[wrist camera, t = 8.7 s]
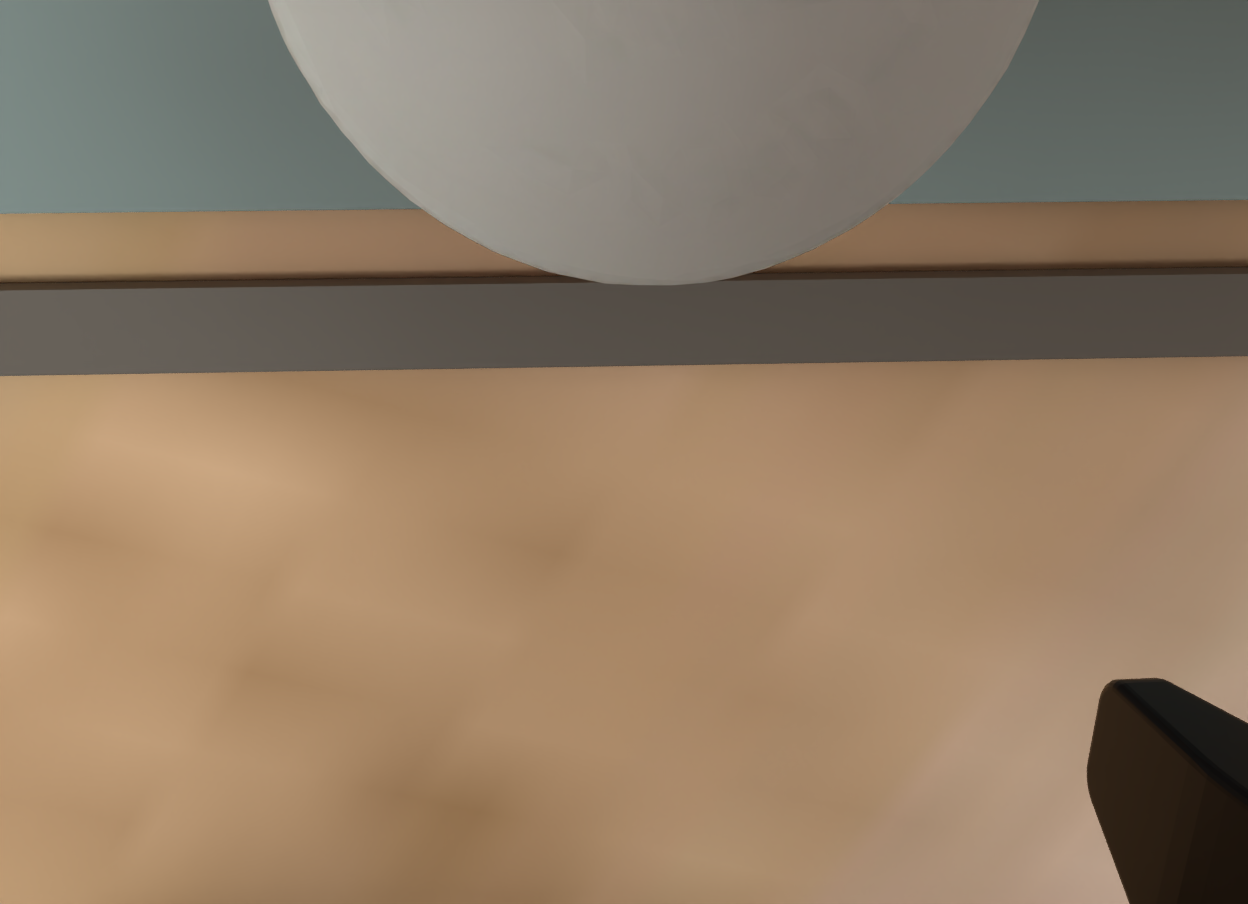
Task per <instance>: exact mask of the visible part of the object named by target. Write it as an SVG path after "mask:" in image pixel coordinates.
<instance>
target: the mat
mask: <svg viewBox="0 0 1248 904" xmlns="http://www.w3.org/2000/svg"><path fill="white" fill-rule="evenodd" d="M1183 200H1248V0H1039V2H1038V4H1037V7H1036V9H1035V11H1034V14H1033V16H1032V18H1031V21H1030V23H1029V25H1028V28H1027V30H1026V32H1025V34H1024V36H1023V38H1022V40H1021V42H1020V44H1019V46H1018V48H1017V50H1016V52H1015V54H1014V56H1013V58H1012V60H1011V62H1010V64H1009V66H1008V68H1007V70H1006V71H1005V73H1004V74H1003V76H1002V78H1001V79H1000V81H999V82H998V84H997V85H996V87H995V88H994V90H993V91H992V93H991V94H990V96H989V97H988V98H987V100H986V101H985V103H984V104H983V105H982V107H981V108H980V110H979V111H978V112H977V114H976V115H975V116H974V118H973V119H972V121H971V122H970V123H969V125H968V126H967V127H966V128H965V129H964V131H963V132H962V133H961V134H960V135H959V136H958V138H957V139H956V140H955V141H954V142H953V144H952V145H951V146H950V147H949V148H948V150H947V151H946V152H945V153H944V154H943V155H942V156H941V157H940V158H939V159H938V160H937V161H936V162H935V163H934V164H933V165H932V166H931V167H930V168H929V169H928V170H927V171H926V172H925V173H924V174H923V175H922V176H921V177H920V178H919V179H917V180H916V181H915V182H914V183H913V184H912V185H911V186H910V187H909V188H907V189H906V190H905V191H904V192H903V193H902V194H900V195H899V196H898V197H897V198H895V199H894V200H893V201H891V202H890V203H889V204H911V203H1002V202H1092V201H1183ZM368 209H422V208H420V207H419V206H417V205H416V204H414V203H413V202H411V201H410V200H409V199H408V198H407V197H405V196H404V195H403V194H402V193H401V192H400V191H399V190H397V189H396V188H395V187H394V186H393V185H392V184H391V183H389V182H388V181H387V180H386V179H385V178H384V177H383V176H382V175H381V174H380V173H379V172H378V171H377V170H376V169H375V168H373V167H372V166H371V165H370V164H369V163H368V162H367V160H366V159H365V158H364V157H363V156H362V154H361V153H360V152H359V151H358V150H357V148H356V147H355V146H354V145H353V144H352V143H351V142H350V140H349V139H348V138H347V137H346V136H345V135H344V134H343V133H342V131H341V130H340V129H339V127H338V126H337V125H336V123H335V122H334V121H333V119H332V118H331V117H330V115H329V114H328V113H327V112H326V110H325V109H324V108H323V107H322V106H321V104H320V103H319V101H318V99H317V97H316V96H315V94H314V92H313V90H312V89H311V87H310V85H309V83H308V82H307V80H306V79H305V77H304V76H303V74H302V73H301V71H300V69H299V68H298V66H297V64H296V62H295V61H294V59H293V57H292V55H291V54H290V52H289V50H288V48H287V46H286V44H285V42H284V40H283V38H282V35H281V33H280V30H279V28H278V26H277V23H276V21H275V18H274V16H273V14H272V11H271V8H270V5H269V2H268V0H0V214H7V213H97V212H187V211H278V210H368Z"/></svg>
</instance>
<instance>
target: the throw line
mask: <svg viewBox="0 0 1248 904" xmlns="http://www.w3.org/2000/svg"><path fill="white" fill-rule="evenodd" d="M1216 356H1248V267H1203V268H1127V269H1051V270H975V271H899V272H823V273H748V274H745V275H741V276H738V277H734V278H729V279H723V280H718V281H713V282H707V283H696V284H683V285H624V284H605V283H600V282H595V281H590V280H585V279H580V278H575V277H570V276H519V277H443V278H367V279H291V280H215V281H139V282H63V283H0V376H25V375H88V374H151V373H213V372H276V371H339V370H401V369H464V368H527V367H589V366H652V365H715V364H777V363H840V362H903V361H965V360H1028V359H1091V358H1153V357H1216Z"/></svg>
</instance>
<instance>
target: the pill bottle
mask: <svg viewBox="0 0 1248 904" xmlns="http://www.w3.org/2000/svg"><path fill="white" fill-rule="evenodd" d="M268 2H269V5H270V8H271V11H272V14H273V16H274V18H275V21H276V23H277V26H278V28H279V30H280V33H281V35H282V38H283V40H284V42H285V44H286V46H287V48H288V50H289V52H290V54H291V55H292V57H293V59H294V61H295V62H296V64H297V66H298V68H299V69H300V71H301V73H302V74H303V76H304V77H305V79H306V80H307V82H308V83H309V85H310V87H311V89H312V90H313V92H314V94H315V96H316V97H317V99H318V101H319V103H320V104H321V106H322V107H323V108H324V109H325V110H326V112H327V113H328V114H329V115H330V117H331V118H332V119H333V121H334V122H335V123H336V125H337V126H338V127H339V129H340V130H341V131H342V133H343V134H344V135H345V136H346V137H347V138H348V139H349V140H350V142H351V143H352V144H353V145H354V146H355V147H356V148H357V150H358V151H359V152H360V153H361V154H362V156H363V157H364V158H365V159H366V160H367V162H368V163H369V164H370V165H371V166H372V167H373V168H375V169H376V170H377V171H378V172H379V173H380V174H381V175H382V176H383V177H384V178H385V179H386V180H387V181H388V182H389V183H391V184H392V185H393V186H394V187H395V188H396V189H397V190H399V191H400V192H401V193H402V194H403V195H404V196H405V197H407V198H408V199H409V200H410V201H411V202H413V203H414V204H416V205H417V206H419V207H420V208H422V209H423V210H424V211H426V212H427V213H429V214H430V215H431V216H433V217H434V218H436V219H437V220H438V221H440V222H441V223H443V224H444V225H446V226H448V227H450V228H451V229H453V230H455V231H457V232H458V233H460V234H462V235H464V236H465V237H467V238H469V239H471V240H473V241H474V242H476V243H478V244H480V245H482V246H484V247H486V248H488V249H489V250H491V251H493V252H496V253H498V254H501V255H503V256H506V257H509V258H511V259H514V260H517V261H519V262H522V263H525V264H527V265H530V266H533V267H536V268H538V269H541V270H544V271H546V272H551V273H556V274H560V275H565V276H570V277H575V278H580V279H585V280H590V281H595V282H600V283H605V284H624V285H683V284H696V283H707V282H713V281H718V280H723V279H729V278H734V277H738V276H741V275H745V274H748V273H752V272H755V271H759V270H762V269H766V268H768V267H771V266H774V265H776V264H779V263H781V262H784V261H787V260H789V259H792V258H794V257H796V256H799V255H801V254H803V253H806V252H808V251H810V250H813V249H815V248H817V247H819V246H821V245H822V244H824V243H826V242H828V241H830V240H832V239H834V238H835V237H837V236H839V235H841V234H843V233H845V232H847V231H849V230H850V229H852V228H853V227H855V226H857V225H858V224H860V223H861V222H863V221H864V220H866V219H867V218H869V217H870V216H872V215H873V214H875V213H876V212H878V211H879V210H880V209H882V208H883V207H884V206H886V205H887V204H889V203H890V202H891V201H893V200H894V199H895V198H897V197H898V196H899V195H900V194H902V193H903V192H904V191H905V190H906V189H907V188H909V187H910V186H911V185H912V184H913V183H914V182H915V181H916V180H917V179H919V178H920V177H921V176H922V175H923V174H924V173H925V172H926V171H927V170H928V169H929V168H930V167H931V166H932V165H933V164H934V163H935V162H936V161H937V160H938V159H939V158H940V157H941V156H942V155H943V154H944V153H945V152H946V151H947V150H948V148H949V147H950V146H951V145H952V144H953V142H954V141H955V140H956V139H957V138H958V136H959V135H960V134H961V133H962V132H963V131H964V129H965V128H966V127H967V126H968V125H969V123H970V122H971V121H972V119H973V118H974V116H975V115H976V114H977V112H978V111H979V110H980V108H981V107H982V105H983V104H984V103H985V101H986V100H987V98H988V97H989V96H990V94H991V93H992V91H993V90H994V88H995V87H996V85H997V84H998V82H999V81H1000V79H1001V78H1002V76H1003V74H1004V73H1005V71H1006V70H1007V68H1008V66H1009V64H1010V62H1011V60H1012V58H1013V56H1014V54H1015V52H1016V50H1017V48H1018V46H1019V44H1020V42H1021V40H1022V38H1023V36H1024V34H1025V32H1026V30H1027V28H1028V25H1029V23H1030V21H1031V18H1032V16H1033V14H1034V11H1035V9H1036V7H1037V4H1038V2H1039V0H268Z"/></svg>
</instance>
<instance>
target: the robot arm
mask: <svg viewBox="0 0 1248 904" xmlns="http://www.w3.org/2000/svg"><path fill="white" fill-rule="evenodd" d="M1087 783H1088V790H1089V794H1090V798H1091V801H1092V804H1093V806H1094V809H1095V812H1096V815H1097V817H1098V820H1099V823H1100V825H1101V828H1102V831H1103V833H1104V836H1105V839H1106V842H1107V844H1108V847H1109V850H1110V852H1111V855H1112V858H1113V860H1114V863H1115V866H1116V869H1117V871H1118V874H1119V877H1120V879H1121V882H1122V885H1123V888H1124V890H1125V893H1126V896H1127V898H1128V901H1129V904H1248V723H1247V722H1245V721H1243V720H1241V719H1239V718H1237V717H1235V716H1233V715H1231V714H1229V713H1227V712H1226V711H1224V710H1222V709H1220V708H1218V707H1216V706H1214V705H1212V704H1210V703H1208V702H1207V701H1205V700H1203V699H1201V698H1199V697H1197V696H1195V695H1193V694H1191V693H1189V692H1188V691H1186V690H1184V689H1182V688H1180V687H1178V686H1176V685H1174V684H1172V683H1170V682H1169V681H1166V680H1164V679H1159V678H1142V679H1118V680H1113V681H1111V682H1110V683H1108V684H1107V685H1106V686H1105V687H1104V689H1103V691H1102V693H1101V696H1100V699H1099V704H1098V710H1097V715H1096V720H1095V726H1094V731H1093V736H1092V742H1091V747H1090V753H1089V758H1088V764H1087Z"/></svg>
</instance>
